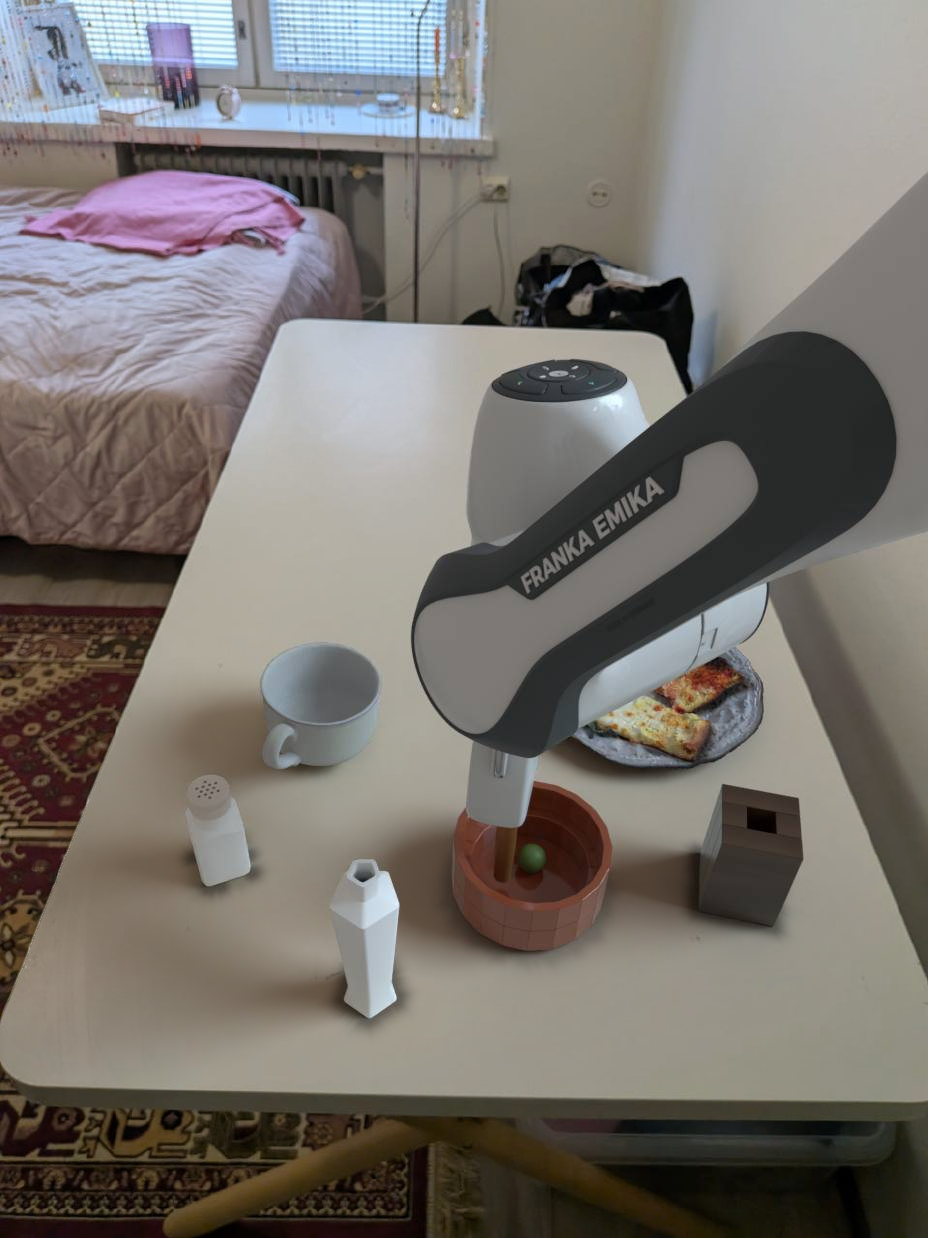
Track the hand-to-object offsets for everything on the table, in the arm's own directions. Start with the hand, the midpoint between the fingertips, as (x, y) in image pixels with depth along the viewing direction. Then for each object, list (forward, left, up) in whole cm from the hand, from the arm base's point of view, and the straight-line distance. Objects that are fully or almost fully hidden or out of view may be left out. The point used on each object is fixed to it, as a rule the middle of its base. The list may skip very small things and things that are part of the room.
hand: (515, 762), depth 66 cm
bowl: (+1, -2, -16) cm, 16 cm away
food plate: (+27, -9, -16) cm, 33 cm away
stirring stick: (0, 0, -14) cm, 14 cm away
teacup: (+11, +20, -16) cm, 28 cm away
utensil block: (+5, -19, -16) cm, 25 cm away
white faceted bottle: (-11, +8, -16) cm, 21 cm away
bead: (+2, -2, -14) cm, 14 cm away
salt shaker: (-3, +23, -16) cm, 28 cm away
